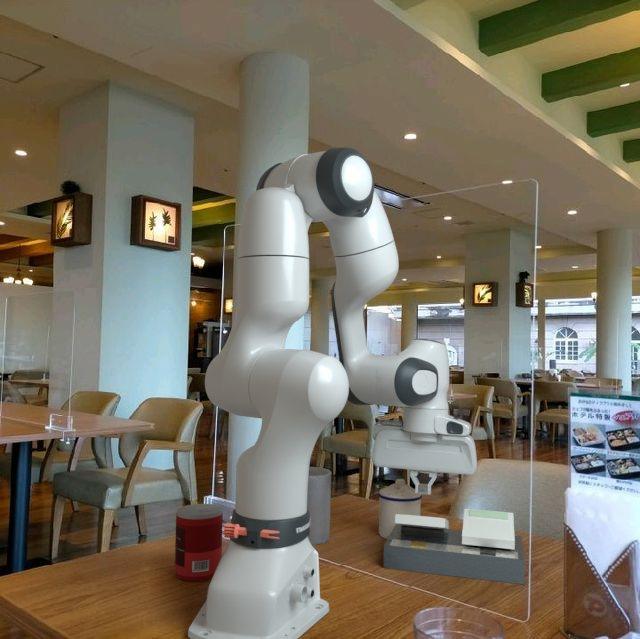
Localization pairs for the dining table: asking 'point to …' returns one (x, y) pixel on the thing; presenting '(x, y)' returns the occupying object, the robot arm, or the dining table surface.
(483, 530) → the rocker
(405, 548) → the switch unit
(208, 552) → the canned food
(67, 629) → the dining table surface
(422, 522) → the rocker
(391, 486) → the teacup with lid
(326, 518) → the pillar candle
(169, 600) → the dining table surface
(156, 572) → the dining table surface
